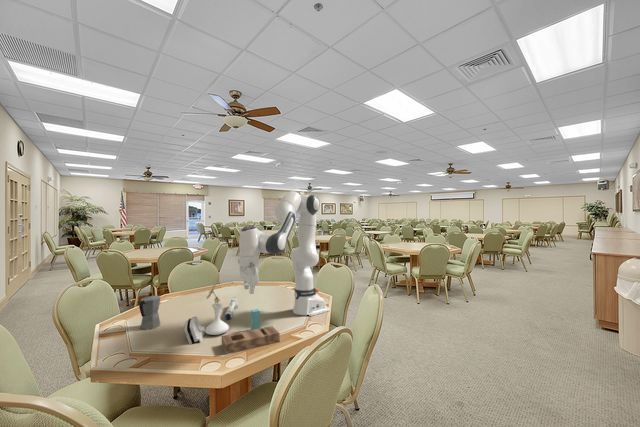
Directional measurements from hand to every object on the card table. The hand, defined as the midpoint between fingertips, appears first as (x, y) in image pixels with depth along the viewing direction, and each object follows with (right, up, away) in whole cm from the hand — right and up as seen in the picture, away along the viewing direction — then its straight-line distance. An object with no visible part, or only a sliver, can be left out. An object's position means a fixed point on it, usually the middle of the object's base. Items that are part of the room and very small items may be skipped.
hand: (249, 291), depth 129 cm
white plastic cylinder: (-21, -25, +40) cm, 52 cm away
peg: (0, -24, +13) cm, 27 cm away
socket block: (+1, -23, -2) cm, 23 cm away
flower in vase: (-19, -24, +9) cm, 32 cm away
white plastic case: (-28, -24, +5) cm, 37 cm away
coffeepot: (-57, -24, +18) cm, 65 cm away
